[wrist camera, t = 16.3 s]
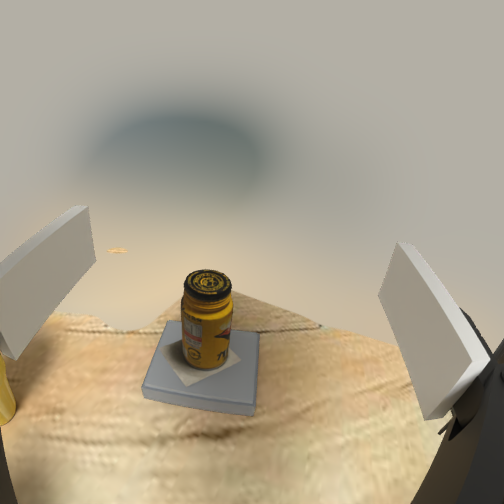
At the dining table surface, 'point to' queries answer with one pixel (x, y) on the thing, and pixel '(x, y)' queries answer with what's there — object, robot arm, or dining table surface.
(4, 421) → the plant pot
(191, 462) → the dining table surface
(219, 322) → the condiment
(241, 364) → the grey square coaster
